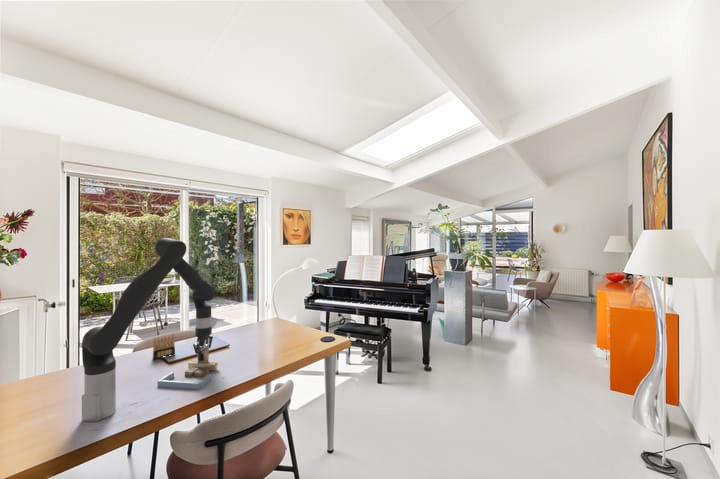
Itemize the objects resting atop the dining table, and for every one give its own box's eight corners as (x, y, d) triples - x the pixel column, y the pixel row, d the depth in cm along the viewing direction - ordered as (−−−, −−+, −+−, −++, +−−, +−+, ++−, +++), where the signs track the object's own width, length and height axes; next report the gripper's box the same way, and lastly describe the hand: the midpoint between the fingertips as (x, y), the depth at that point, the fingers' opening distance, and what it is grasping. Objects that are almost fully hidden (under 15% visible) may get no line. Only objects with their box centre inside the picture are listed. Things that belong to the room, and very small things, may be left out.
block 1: (191, 377, 152) (191, 372, 152) (184, 376, 152) (184, 371, 152) (199, 372, 157) (199, 368, 156) (192, 372, 157) (192, 367, 157)
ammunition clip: (153, 360, 170) (153, 338, 170) (152, 359, 171) (152, 337, 171) (175, 355, 178) (175, 334, 178) (174, 354, 179) (174, 333, 179)
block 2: (201, 378, 151) (201, 373, 151) (194, 377, 152) (194, 372, 152) (208, 373, 156) (208, 368, 156) (201, 372, 157) (201, 367, 157)
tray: (198, 389, 140) (199, 383, 140) (157, 386, 142) (157, 380, 142) (211, 379, 149) (211, 374, 149) (172, 376, 151) (172, 371, 151)
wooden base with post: (214, 370, 158) (214, 350, 157) (188, 368, 159) (188, 349, 159) (217, 367, 161) (217, 348, 160) (192, 366, 162) (192, 347, 162)
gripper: (202, 330, 152) (201, 365, 152) (218, 322, 166) (217, 354, 166) (187, 329, 153) (187, 364, 153) (204, 321, 167) (204, 353, 167)
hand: (203, 359), depth 160 cm, fingers closed on wooden base with post, 3 cm apart
